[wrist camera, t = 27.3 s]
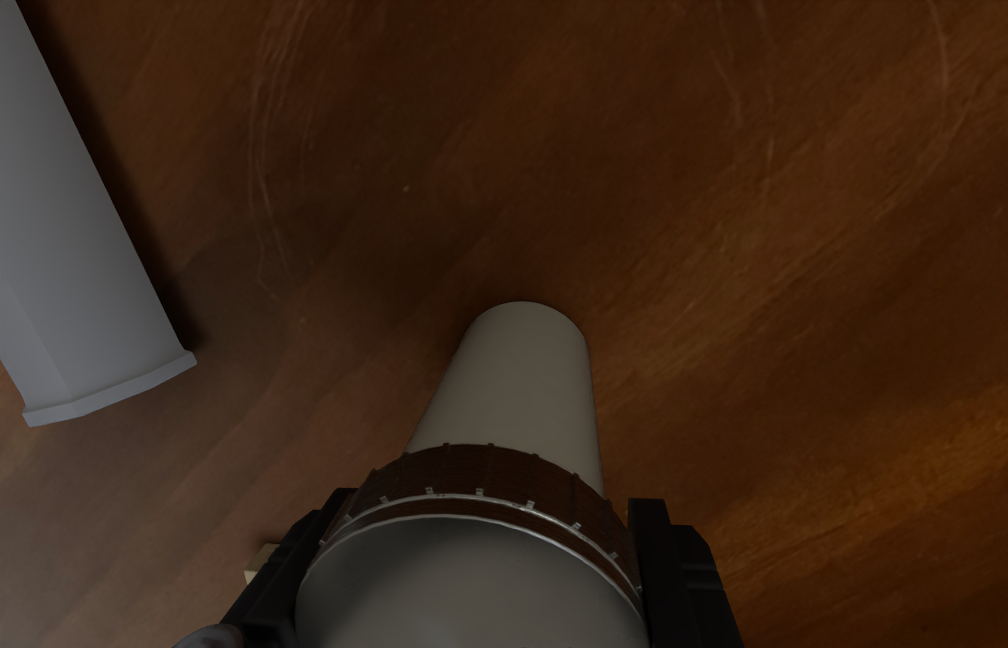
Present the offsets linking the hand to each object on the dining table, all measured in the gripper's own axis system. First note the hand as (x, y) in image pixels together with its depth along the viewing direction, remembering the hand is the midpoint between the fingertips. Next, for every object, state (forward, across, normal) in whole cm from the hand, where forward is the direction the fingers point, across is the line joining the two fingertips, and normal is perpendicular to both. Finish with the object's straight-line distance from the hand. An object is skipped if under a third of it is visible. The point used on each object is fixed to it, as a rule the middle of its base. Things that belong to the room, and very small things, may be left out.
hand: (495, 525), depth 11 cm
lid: (-3, 0, 0) cm, 3 cm away
